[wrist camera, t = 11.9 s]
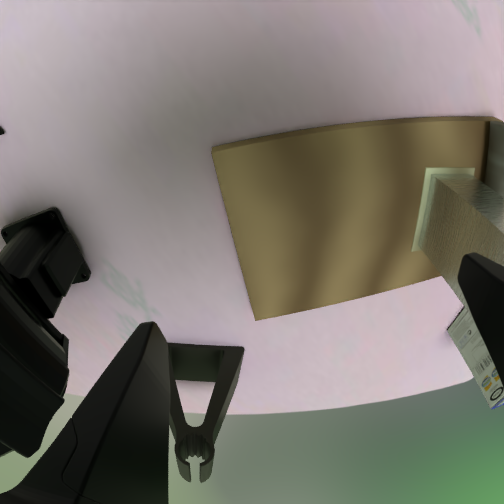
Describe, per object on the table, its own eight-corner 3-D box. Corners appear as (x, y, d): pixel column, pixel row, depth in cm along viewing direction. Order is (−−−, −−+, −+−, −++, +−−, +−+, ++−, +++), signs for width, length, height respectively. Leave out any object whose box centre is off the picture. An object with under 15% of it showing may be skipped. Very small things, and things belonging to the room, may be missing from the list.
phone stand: (244, 346, 29) (256, 466, 19) (237, 379, 32) (245, 483, 23) (149, 340, 28) (133, 460, 18) (154, 374, 31) (145, 478, 21)
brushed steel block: (417, 245, 22) (509, 377, 12) (431, 173, 19) (562, 296, 8) (464, 238, 22) (554, 350, 12) (479, 173, 19) (598, 276, 8)
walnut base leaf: (254, 310, 26) (258, 343, 23) (211, 147, 18) (209, 166, 15) (472, 256, 26) (491, 279, 23) (493, 116, 17) (523, 130, 15)
